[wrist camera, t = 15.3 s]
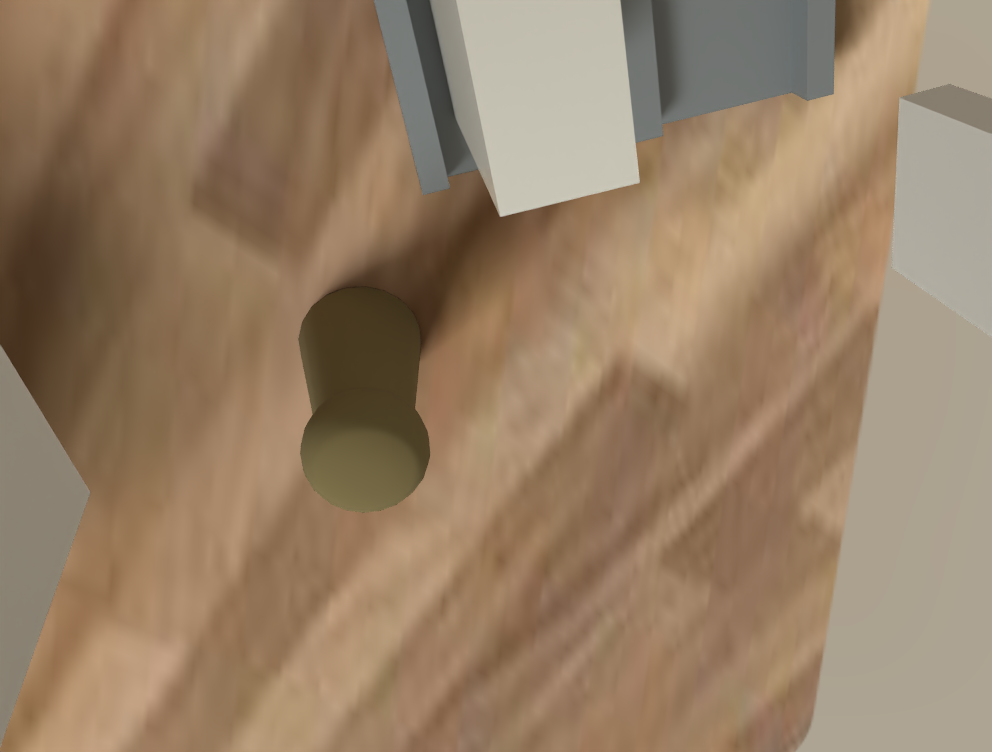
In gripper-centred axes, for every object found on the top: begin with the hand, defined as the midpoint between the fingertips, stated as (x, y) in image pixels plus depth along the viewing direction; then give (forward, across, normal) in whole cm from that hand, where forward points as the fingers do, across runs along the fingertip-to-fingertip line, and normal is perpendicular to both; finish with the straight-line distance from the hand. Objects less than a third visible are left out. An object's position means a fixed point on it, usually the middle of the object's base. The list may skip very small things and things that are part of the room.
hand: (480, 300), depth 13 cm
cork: (+27, -5, -14) cm, 31 cm away
